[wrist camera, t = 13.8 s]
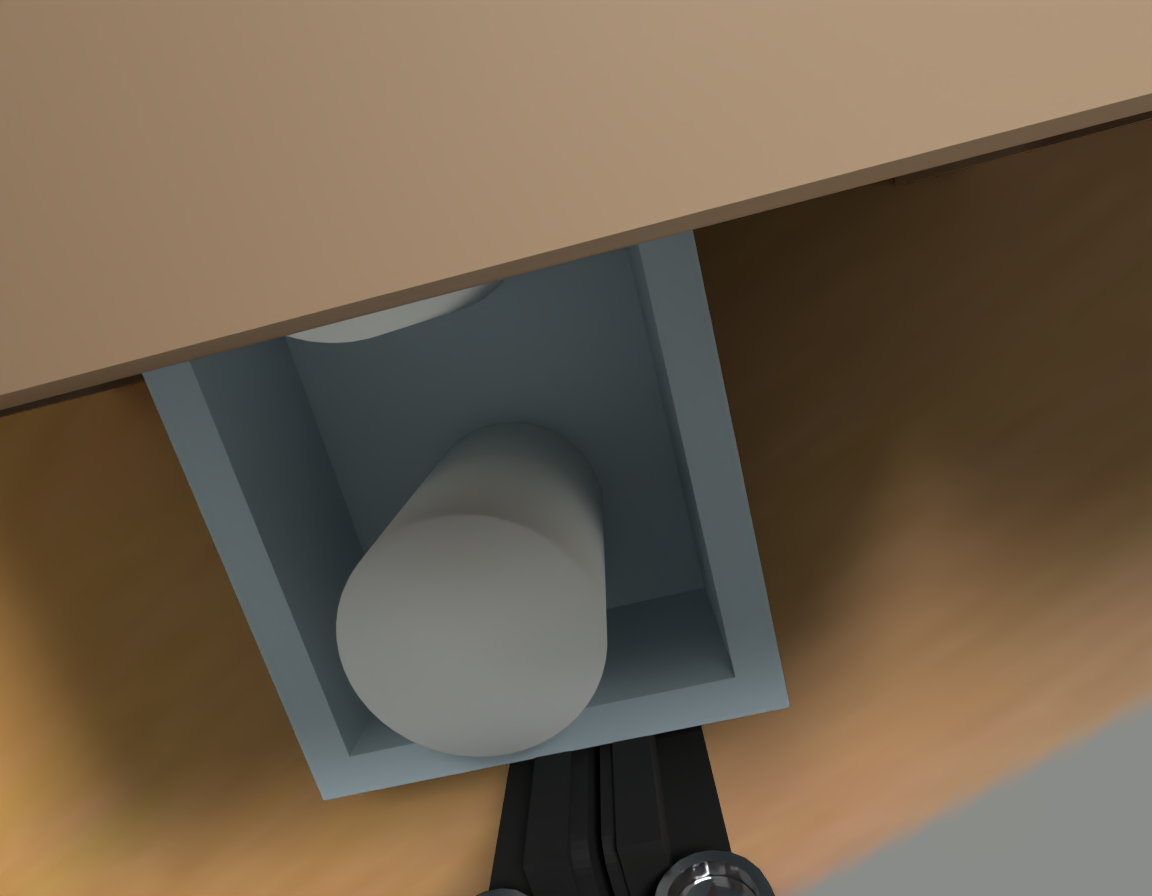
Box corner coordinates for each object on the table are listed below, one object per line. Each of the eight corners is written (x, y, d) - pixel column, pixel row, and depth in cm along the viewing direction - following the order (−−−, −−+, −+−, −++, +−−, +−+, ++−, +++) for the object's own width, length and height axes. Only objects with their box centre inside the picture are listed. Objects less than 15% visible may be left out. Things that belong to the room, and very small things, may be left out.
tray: (602, -33, 10) (609, -334, 5) (736, 584, 12) (828, 794, 7) (188, 95, 10) (-178, -59, 5) (395, 658, 13) (273, 899, 8)
